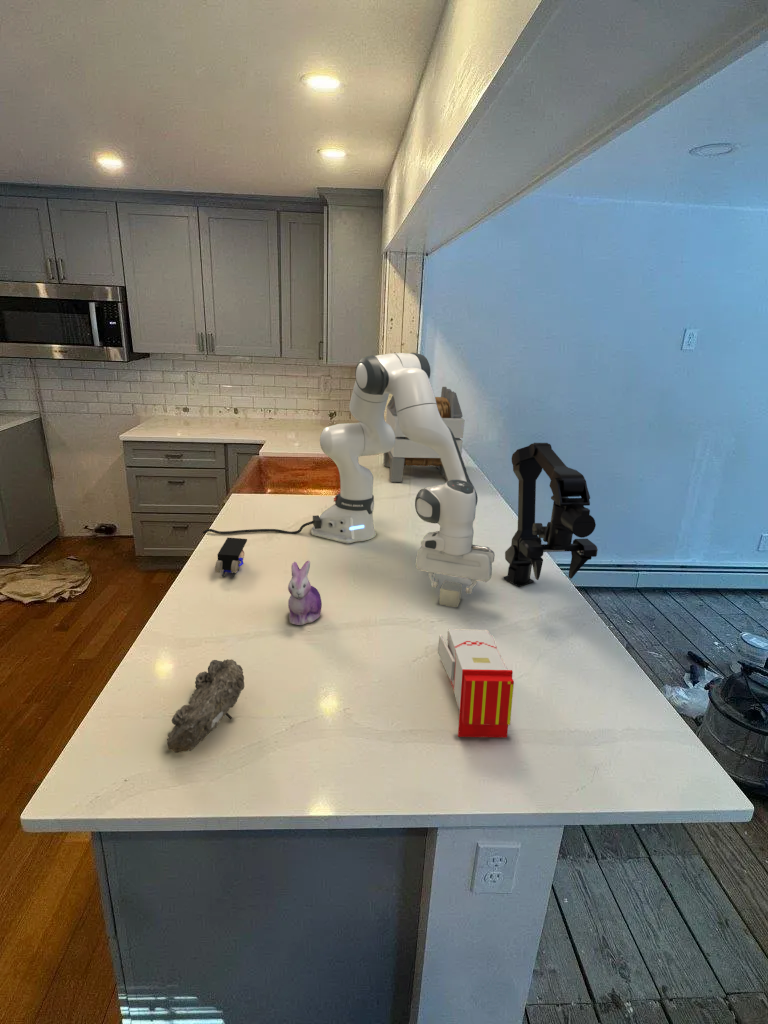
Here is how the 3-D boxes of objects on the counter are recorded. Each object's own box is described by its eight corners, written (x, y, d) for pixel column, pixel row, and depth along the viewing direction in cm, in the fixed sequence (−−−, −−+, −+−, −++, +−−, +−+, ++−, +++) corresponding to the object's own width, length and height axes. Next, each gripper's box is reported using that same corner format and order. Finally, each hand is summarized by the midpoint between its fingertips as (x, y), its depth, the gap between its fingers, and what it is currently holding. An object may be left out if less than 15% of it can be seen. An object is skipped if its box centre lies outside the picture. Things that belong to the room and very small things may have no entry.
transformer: (382, 463, 289) (386, 382, 275) (445, 464, 293) (451, 384, 279) (390, 482, 257) (394, 392, 243) (460, 483, 261) (468, 394, 247)
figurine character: (238, 584, 162) (249, 557, 175) (236, 562, 158) (247, 536, 172) (215, 584, 161) (227, 556, 175) (212, 561, 158) (225, 535, 171)
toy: (488, 613, 130) (523, 677, 101) (484, 667, 133) (517, 744, 104) (435, 612, 130) (455, 676, 101) (432, 666, 133) (451, 743, 103)
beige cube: (456, 607, 152) (458, 591, 150) (438, 604, 153) (440, 588, 152) (460, 599, 156) (462, 583, 155) (443, 596, 158) (444, 580, 156)
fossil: (192, 660, 117) (244, 628, 112) (224, 691, 120) (276, 661, 115) (142, 746, 98) (202, 712, 93) (182, 779, 101) (242, 748, 96)
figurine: (293, 630, 138) (292, 574, 133) (280, 610, 146) (279, 557, 141) (329, 622, 142) (330, 568, 137) (314, 603, 150) (315, 552, 145)
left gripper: (497, 544, 148) (491, 591, 153) (421, 532, 154) (418, 578, 159) (493, 552, 143) (488, 601, 147) (415, 540, 149) (412, 587, 153)
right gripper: (581, 510, 150) (572, 564, 155) (514, 511, 147) (507, 566, 152) (603, 526, 140) (592, 582, 145) (532, 527, 137) (523, 585, 142)
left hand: (451, 589), depth 153 cm, fingers open, 8 cm apart
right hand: (553, 578), depth 146 cm, fingers open, 9 cm apart
